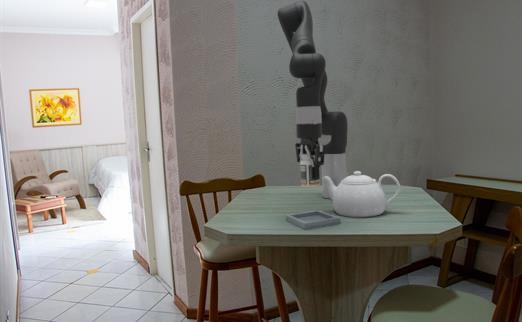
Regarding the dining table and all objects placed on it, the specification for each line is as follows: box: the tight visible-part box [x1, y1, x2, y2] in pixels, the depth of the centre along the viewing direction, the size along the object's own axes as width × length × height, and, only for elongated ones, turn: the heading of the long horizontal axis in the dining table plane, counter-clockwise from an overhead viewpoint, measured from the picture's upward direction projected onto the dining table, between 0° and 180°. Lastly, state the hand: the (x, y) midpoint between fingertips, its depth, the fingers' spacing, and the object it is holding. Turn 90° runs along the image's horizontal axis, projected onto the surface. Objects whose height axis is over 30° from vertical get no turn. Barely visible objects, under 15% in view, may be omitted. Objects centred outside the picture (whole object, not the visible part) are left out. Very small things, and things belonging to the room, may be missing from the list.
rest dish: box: [285, 209, 341, 230], centre depth 129 cm, size 12×12×2 cm
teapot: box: [320, 170, 401, 218], centre depth 139 cm, size 19×18×14 cm
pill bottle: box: [299, 154, 321, 188], centre depth 128 cm, size 6×6×10 cm
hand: (310, 177), depth 128 cm, fingers closed on pill bottle, 5 cm apart
